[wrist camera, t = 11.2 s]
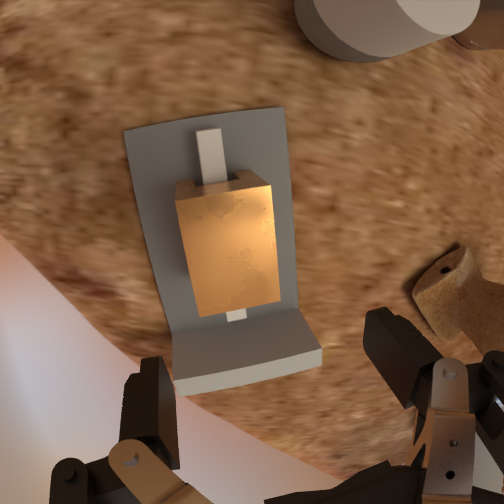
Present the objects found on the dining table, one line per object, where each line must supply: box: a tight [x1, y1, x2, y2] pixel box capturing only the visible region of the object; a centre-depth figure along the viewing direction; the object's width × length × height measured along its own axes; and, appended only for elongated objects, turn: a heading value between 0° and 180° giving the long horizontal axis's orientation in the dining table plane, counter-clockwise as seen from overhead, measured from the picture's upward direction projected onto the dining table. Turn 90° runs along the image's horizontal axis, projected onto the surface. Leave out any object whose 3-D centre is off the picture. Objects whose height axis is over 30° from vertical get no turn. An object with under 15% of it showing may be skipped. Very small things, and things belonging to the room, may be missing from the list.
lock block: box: [175, 169, 281, 317], centre depth 23 cm, size 8×6×6 cm
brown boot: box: [412, 246, 504, 357], centre depth 29 cm, size 15×12×15 cm
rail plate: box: [123, 107, 322, 397], centre depth 24 cm, size 20×12×7 cm, turn 6°
